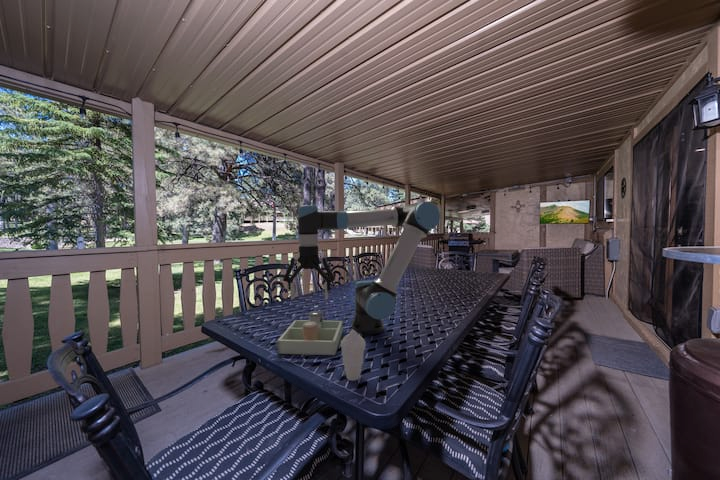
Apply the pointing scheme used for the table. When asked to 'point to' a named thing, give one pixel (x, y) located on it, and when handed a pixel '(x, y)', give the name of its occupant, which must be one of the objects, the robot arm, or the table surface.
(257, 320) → the table surface
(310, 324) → the jar
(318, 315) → the tin
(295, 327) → the tray
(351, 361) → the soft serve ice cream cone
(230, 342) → the table surface
